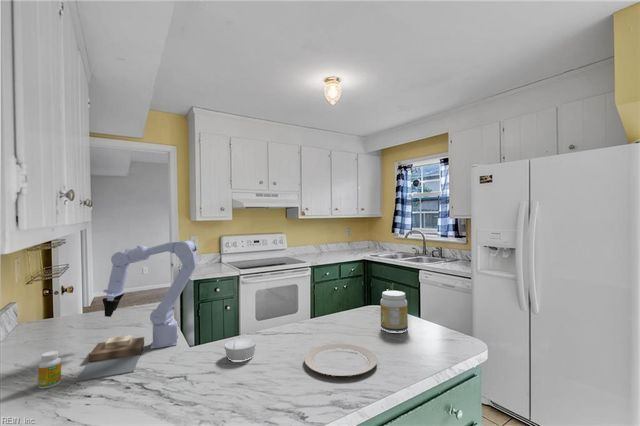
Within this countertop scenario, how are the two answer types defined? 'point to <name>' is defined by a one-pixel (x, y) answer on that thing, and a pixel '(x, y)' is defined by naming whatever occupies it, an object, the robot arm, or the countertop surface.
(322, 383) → the countertop surface
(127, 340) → the birch tile
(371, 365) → the plate
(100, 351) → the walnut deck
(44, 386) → the supplement bottle
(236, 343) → the ramekin
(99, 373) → the grey flat slab
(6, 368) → the countertop surface
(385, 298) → the supplement tub
